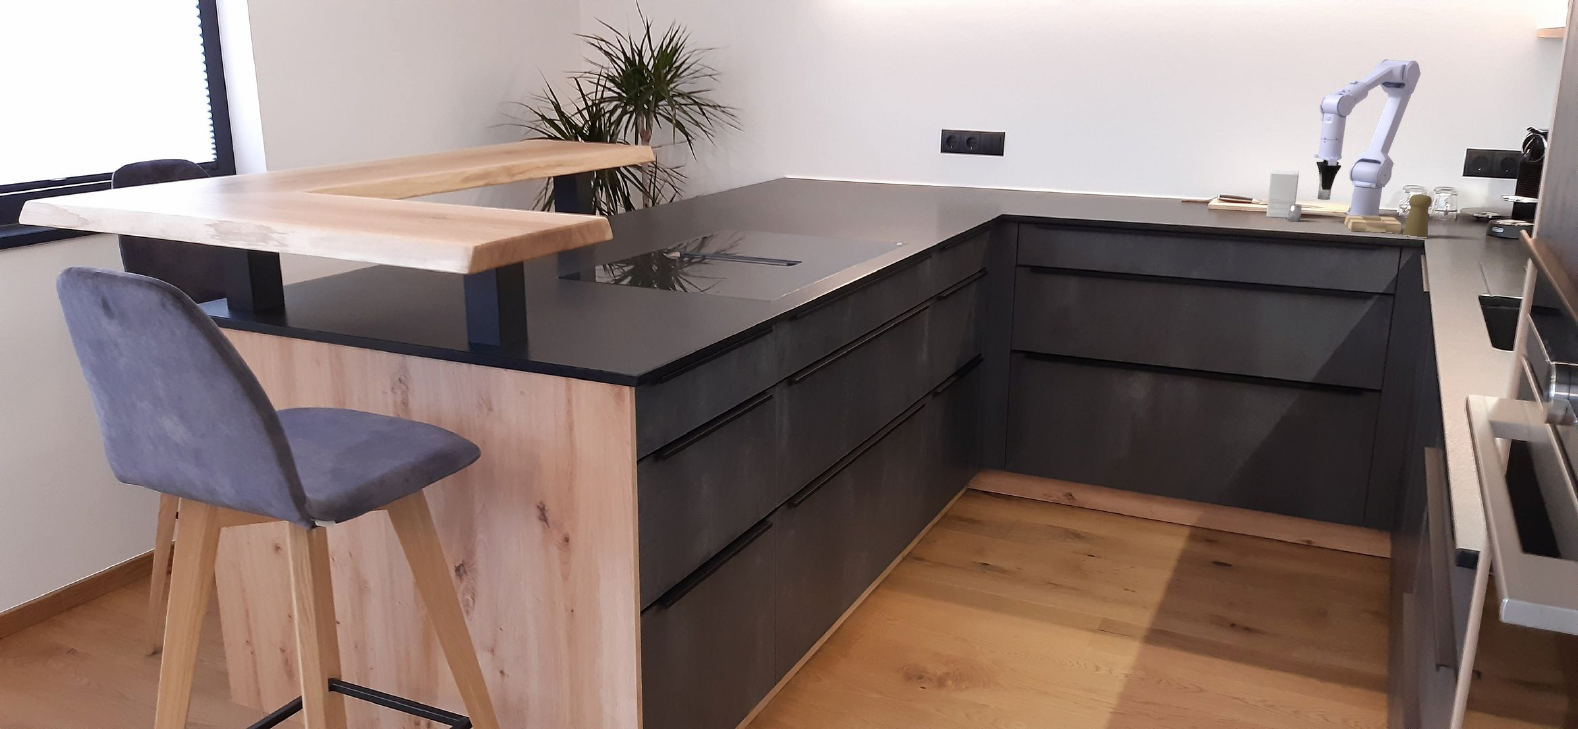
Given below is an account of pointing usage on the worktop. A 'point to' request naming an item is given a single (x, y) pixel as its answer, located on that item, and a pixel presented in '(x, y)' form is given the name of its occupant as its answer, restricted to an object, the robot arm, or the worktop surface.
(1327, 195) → the long pin
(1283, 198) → the supplement box
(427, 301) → the worktop surface
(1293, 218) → the short pin
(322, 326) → the worktop surface
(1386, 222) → the oak frame
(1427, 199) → the cork
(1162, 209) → the worktop surface
